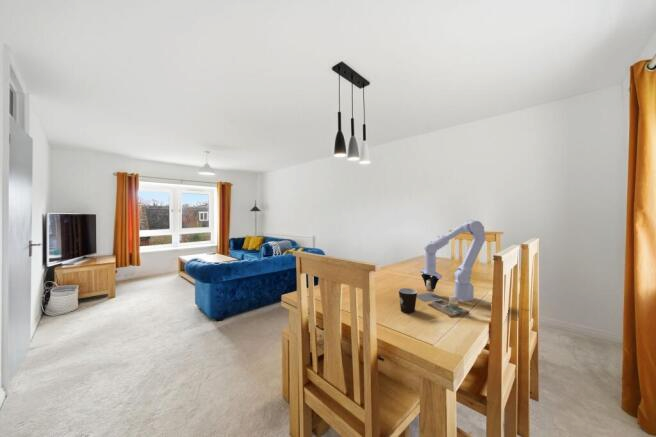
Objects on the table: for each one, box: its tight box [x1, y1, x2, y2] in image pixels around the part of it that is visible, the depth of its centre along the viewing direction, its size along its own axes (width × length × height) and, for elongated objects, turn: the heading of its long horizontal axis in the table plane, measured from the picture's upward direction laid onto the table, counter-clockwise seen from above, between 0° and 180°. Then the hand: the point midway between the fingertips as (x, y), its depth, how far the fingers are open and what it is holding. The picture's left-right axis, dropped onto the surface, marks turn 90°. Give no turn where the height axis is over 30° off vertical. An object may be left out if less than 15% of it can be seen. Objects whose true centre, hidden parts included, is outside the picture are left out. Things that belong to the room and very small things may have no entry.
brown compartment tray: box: [427, 299, 470, 318], centre depth 121 cm, size 12×14×2 cm
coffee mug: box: [398, 287, 418, 315], centre depth 120 cm, size 12×9×10 cm
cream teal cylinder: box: [448, 295, 459, 311], centre depth 117 cm, size 4×4×6 cm
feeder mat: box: [416, 292, 445, 303], centre depth 137 cm, size 14×10×1 cm
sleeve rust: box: [425, 279, 435, 293], centre depth 139 cm, size 4×4×6 cm
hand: (430, 287), depth 139 cm, fingers closed on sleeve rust, 4 cm apart
